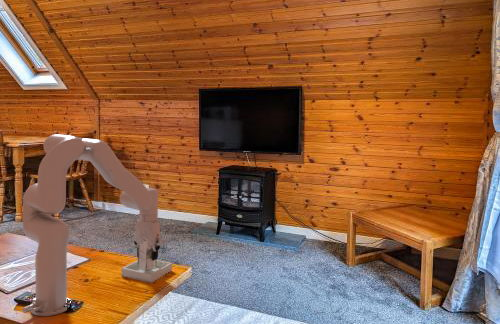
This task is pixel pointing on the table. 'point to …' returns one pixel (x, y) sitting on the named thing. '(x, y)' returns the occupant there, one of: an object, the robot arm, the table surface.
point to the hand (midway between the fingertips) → (147, 257)
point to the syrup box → (145, 256)
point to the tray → (146, 276)
